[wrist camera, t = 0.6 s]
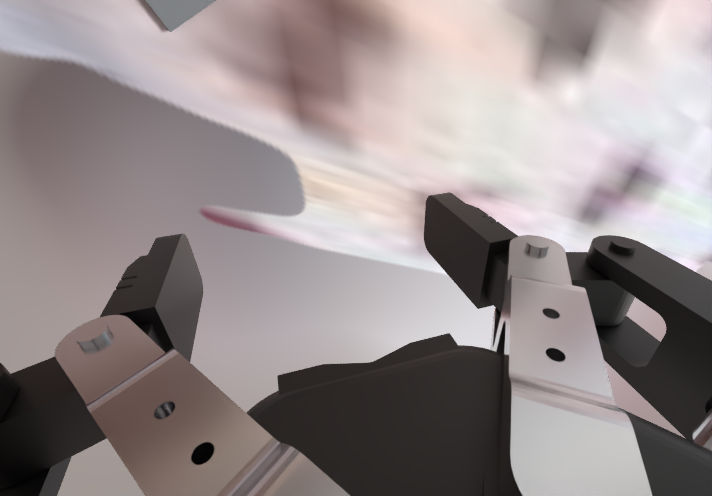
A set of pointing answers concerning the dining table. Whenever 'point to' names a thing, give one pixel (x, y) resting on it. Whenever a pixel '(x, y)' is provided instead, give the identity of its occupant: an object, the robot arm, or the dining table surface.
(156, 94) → the dining table surface
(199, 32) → the dining table surface
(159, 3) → the mat
